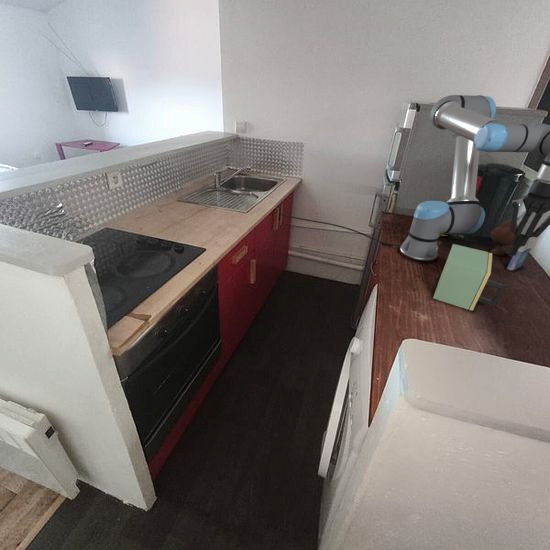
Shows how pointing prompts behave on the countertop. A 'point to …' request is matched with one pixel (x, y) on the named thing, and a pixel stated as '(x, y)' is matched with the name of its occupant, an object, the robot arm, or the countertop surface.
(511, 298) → the countertop surface
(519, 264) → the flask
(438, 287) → the cupboard
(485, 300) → the door
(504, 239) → the ice cream bowl
